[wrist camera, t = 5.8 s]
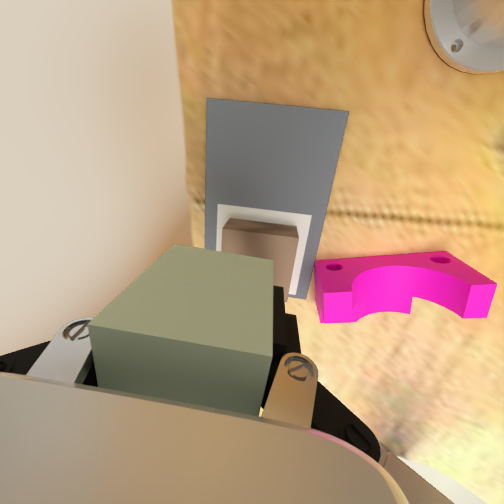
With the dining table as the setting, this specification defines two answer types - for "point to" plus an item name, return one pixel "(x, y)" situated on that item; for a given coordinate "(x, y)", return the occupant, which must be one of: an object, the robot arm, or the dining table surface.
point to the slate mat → (272, 172)
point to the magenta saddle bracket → (399, 285)
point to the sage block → (190, 331)
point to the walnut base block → (264, 246)
